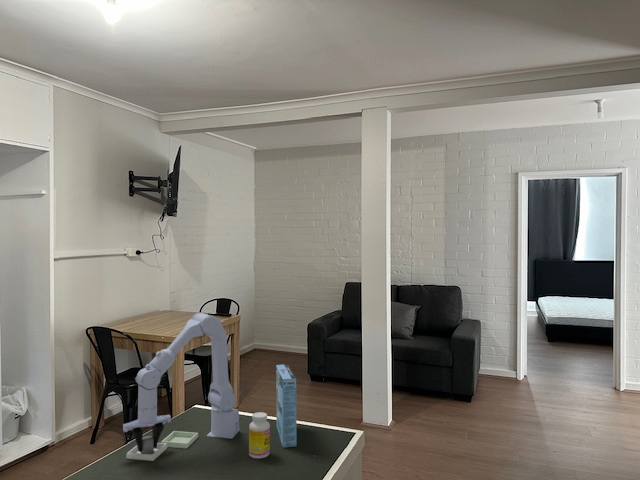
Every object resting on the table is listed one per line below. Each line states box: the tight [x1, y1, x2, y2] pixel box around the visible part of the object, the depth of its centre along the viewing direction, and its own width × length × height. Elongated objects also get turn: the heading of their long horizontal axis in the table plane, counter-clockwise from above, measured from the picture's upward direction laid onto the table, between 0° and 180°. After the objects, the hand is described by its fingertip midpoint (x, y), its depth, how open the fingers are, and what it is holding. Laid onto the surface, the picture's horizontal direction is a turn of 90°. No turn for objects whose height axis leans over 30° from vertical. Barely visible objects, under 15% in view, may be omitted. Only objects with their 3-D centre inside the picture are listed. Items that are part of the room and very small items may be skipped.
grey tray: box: [125, 442, 168, 462], centre depth 153 cm, size 9×9×2 cm
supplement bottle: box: [248, 411, 271, 459], centre depth 154 cm, size 7×7×13 cm
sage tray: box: [160, 430, 199, 449], centre depth 162 cm, size 9×9×2 cm
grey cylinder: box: [141, 435, 154, 455], centre depth 153 cm, size 4×4×5 cm
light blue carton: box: [275, 364, 298, 448], centre depth 169 cm, size 20×5×23 cm, turn 11°
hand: (147, 448), depth 153 cm, fingers closed on grey cylinder, 4 cm apart
